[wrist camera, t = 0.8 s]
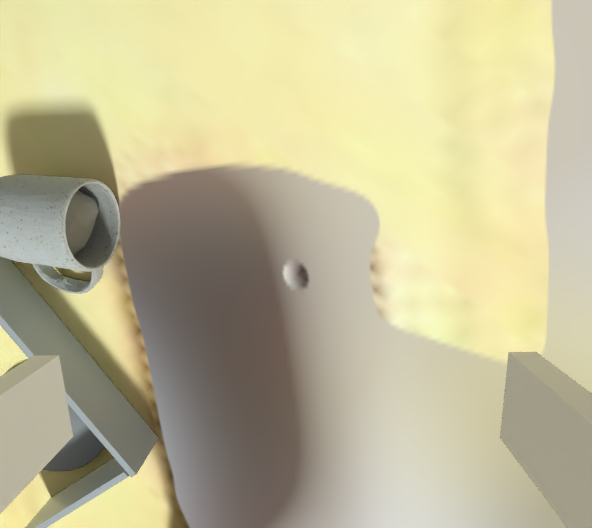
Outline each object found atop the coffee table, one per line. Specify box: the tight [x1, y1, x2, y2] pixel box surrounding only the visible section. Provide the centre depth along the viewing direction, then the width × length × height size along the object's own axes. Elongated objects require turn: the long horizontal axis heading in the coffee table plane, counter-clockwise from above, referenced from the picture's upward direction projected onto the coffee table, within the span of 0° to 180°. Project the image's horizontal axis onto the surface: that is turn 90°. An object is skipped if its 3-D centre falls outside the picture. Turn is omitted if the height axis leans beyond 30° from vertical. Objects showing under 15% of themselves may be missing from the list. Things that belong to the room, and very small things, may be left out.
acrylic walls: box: [0, 256, 159, 528], centre depth 35 cm, size 26×15×5 cm, turn 35°
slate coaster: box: [43, 403, 104, 471], centre depth 38 cm, size 12×12×1 cm
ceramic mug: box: [0, 174, 120, 294], centre depth 31 cm, size 11×8×8 cm
